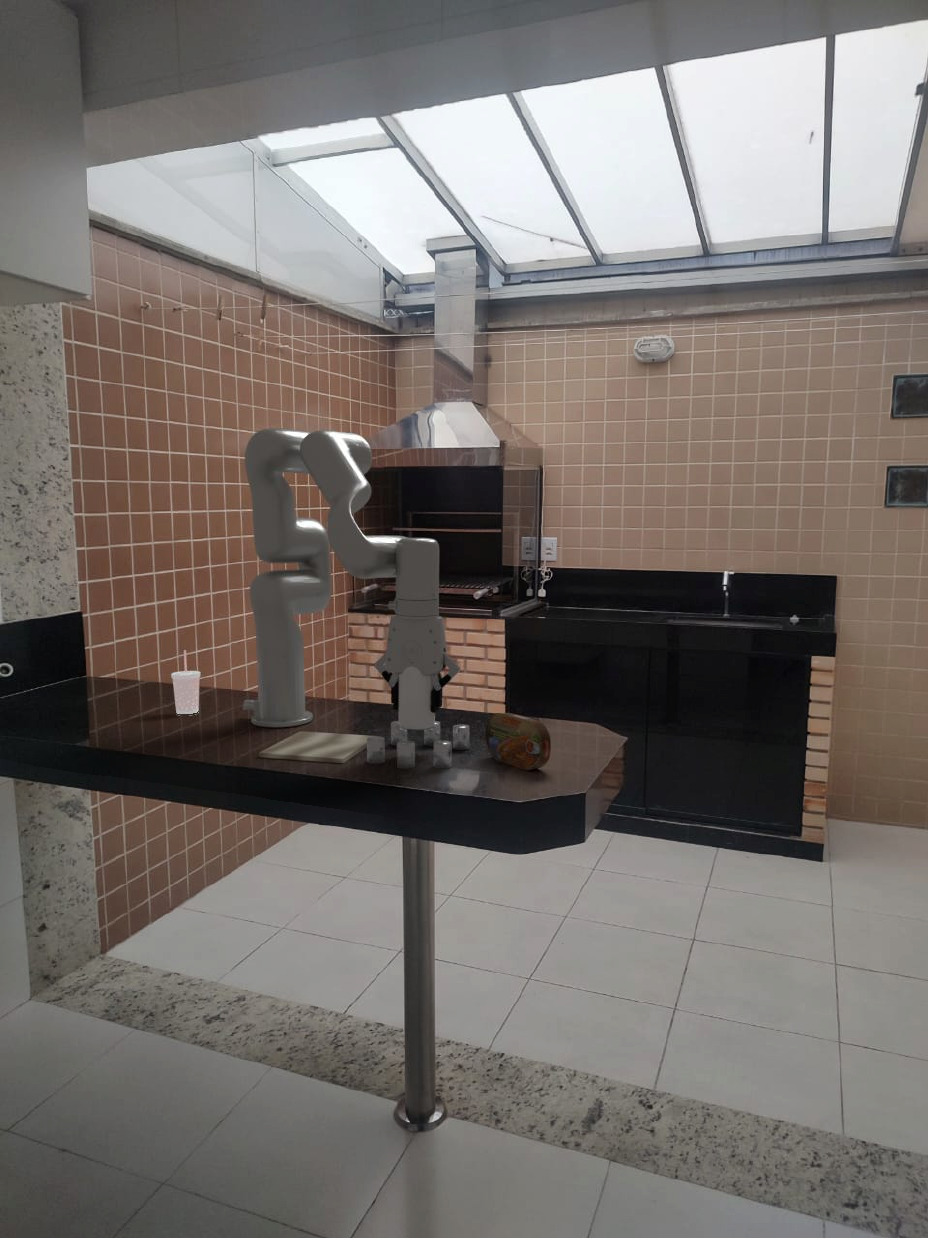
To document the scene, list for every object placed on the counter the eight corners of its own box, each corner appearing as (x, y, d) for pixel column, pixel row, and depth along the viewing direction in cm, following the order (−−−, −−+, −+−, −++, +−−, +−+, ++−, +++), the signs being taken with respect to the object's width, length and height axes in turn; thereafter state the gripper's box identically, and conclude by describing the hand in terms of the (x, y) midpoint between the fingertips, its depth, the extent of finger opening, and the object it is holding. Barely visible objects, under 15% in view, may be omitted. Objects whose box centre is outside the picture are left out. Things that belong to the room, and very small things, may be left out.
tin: (484, 755, 143) (483, 709, 143) (498, 753, 145) (498, 706, 144) (539, 776, 131) (539, 725, 130) (554, 773, 133) (554, 722, 132)
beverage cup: (177, 710, 181) (175, 648, 180) (205, 710, 182) (203, 648, 180) (169, 716, 175) (166, 652, 174) (197, 716, 176) (195, 652, 174)
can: (400, 721, 148) (400, 656, 146) (436, 722, 147) (436, 656, 146) (396, 730, 141) (396, 662, 140) (433, 731, 141) (434, 663, 139)
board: (259, 757, 143) (259, 752, 143) (300, 735, 158) (300, 731, 158) (343, 763, 139) (343, 758, 139) (377, 740, 154) (377, 736, 154)
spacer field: (361, 765, 138) (360, 742, 137) (397, 739, 155) (396, 718, 154) (446, 771, 134) (446, 748, 133) (473, 744, 151) (473, 723, 151)
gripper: (362, 609, 140) (363, 710, 143) (459, 613, 136) (458, 718, 138) (378, 604, 148) (378, 701, 150) (470, 608, 143) (469, 708, 145)
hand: (416, 708), depth 144 cm, fingers closed on can, 6 cm apart
